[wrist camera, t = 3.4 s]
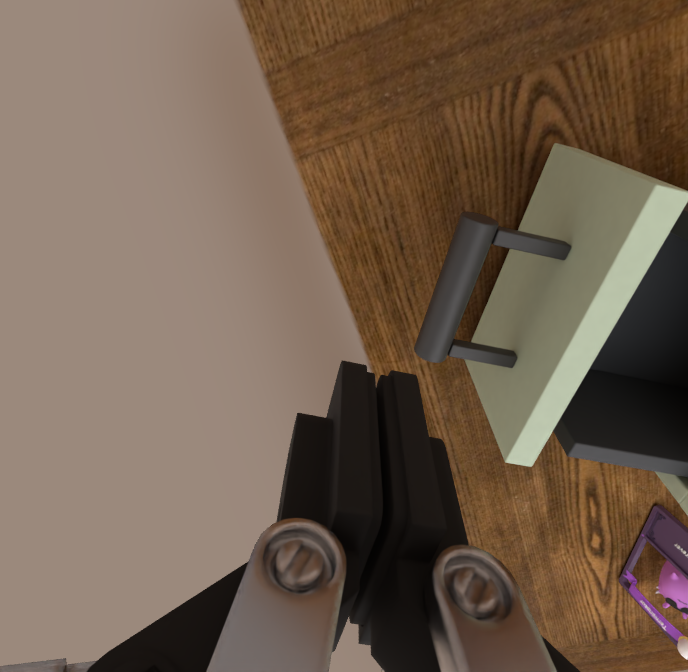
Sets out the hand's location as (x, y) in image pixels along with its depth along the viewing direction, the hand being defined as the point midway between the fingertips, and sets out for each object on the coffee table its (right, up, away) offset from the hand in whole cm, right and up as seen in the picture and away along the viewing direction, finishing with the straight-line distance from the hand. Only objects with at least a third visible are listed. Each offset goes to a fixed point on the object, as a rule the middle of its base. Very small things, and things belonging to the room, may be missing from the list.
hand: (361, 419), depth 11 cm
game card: (+24, -14, +25) cm, 37 cm away
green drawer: (+12, +5, +13) cm, 19 cm away
